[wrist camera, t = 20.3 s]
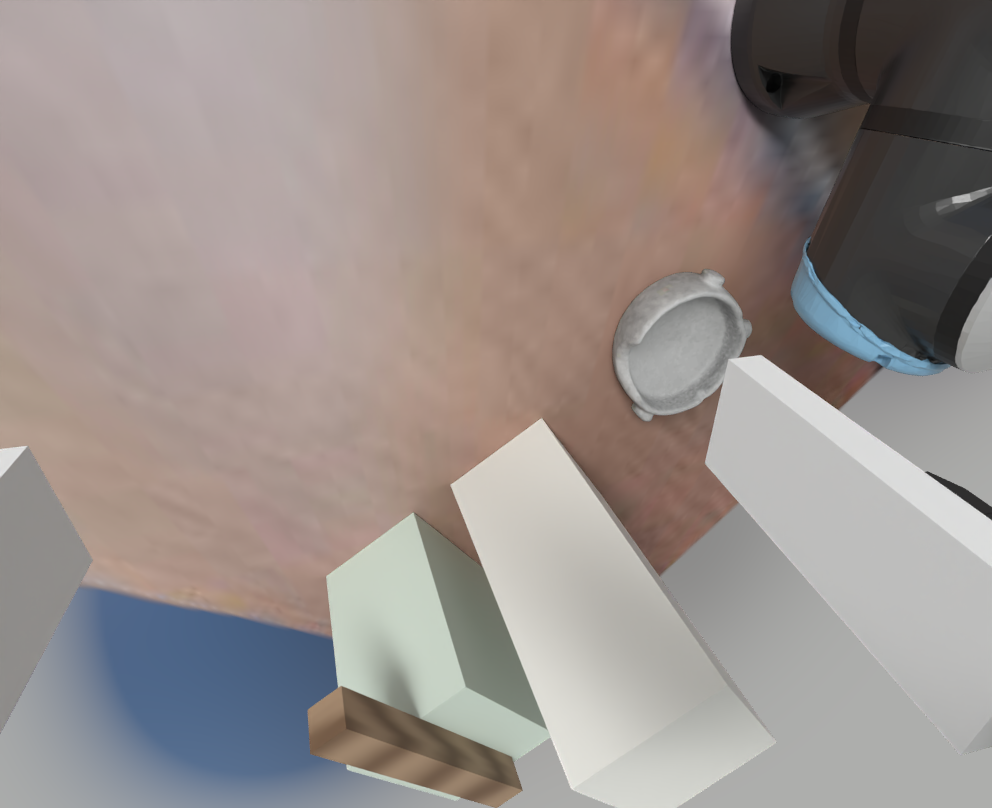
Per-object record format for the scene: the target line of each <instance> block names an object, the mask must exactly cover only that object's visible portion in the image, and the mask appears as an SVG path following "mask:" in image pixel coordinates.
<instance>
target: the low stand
mask: <svg viewBox="0 0 992 808" xmlns="http://www.w3.org/2000/svg"><path fill="white" fill-rule="evenodd" d="M326 579H327V588H328V597H329V606H330V616H331V625H332V634H333V643H334V653H335V662H336V671H337V681H338V688H339V687H340V686H343V687H346V688H348V689H351V690H353V691H355V692H358V693H360V694H363V695H365V696H367V697H370V698H372V699H375V700H377V701H379V702H382V703H384V704H387V705H389V706H391V707H394V708H396V709H399V710H401V711H403V712H406V713H408V714H411V715H413V716H415V717H418V718H420V719H423V720H425V721H427V722H430V723H432V724H435V725H437V726H439V727H442V728H444V729H447V730H449V731H451V732H454V733H456V734H459V735H461V736H463V737H466V738H468V739H471V740H473V741H475V742H478V743H480V744H483V745H485V746H487V747H490V748H492V749H495V750H497V751H499V752H502V753H504V754H507V755H509V756H511V757H512V760H513V762H514V761H516V760H517V759H519V758H520V757H522V756H523V755H524V754H526V753H527V752H529V751H530V750H532V749H533V748H535V747H536V746H538V745H539V744H541V743H542V742H544V741H545V740H547V739H548V738H549V737H550V734H549V732H548V729H547V727H546V724H545V722H544V719H543V717H542V714H541V712H540V709H539V706H538V704H537V701H536V699H535V696H534V694H533V691H532V689H531V686H530V684H529V681H528V679H527V676H526V674H525V671H524V669H523V666H522V664H521V661H520V659H519V656H518V654H517V651H516V649H515V646H514V644H513V641H512V639H511V636H510V634H509V631H508V629H507V626H506V624H505V621H504V618H503V616H502V613H501V611H500V608H499V606H498V603H497V601H496V598H495V596H494V593H493V591H492V588H491V586H490V583H489V581H488V578H487V576H486V573H485V571H484V568H483V567H481V566H480V565H479V564H478V563H476V562H475V561H474V560H473V559H471V558H470V557H469V556H468V555H466V554H465V553H464V552H463V551H461V550H460V549H459V548H458V547H456V546H455V545H454V544H453V543H451V542H450V541H449V540H448V539H446V538H445V537H444V536H443V535H441V534H440V533H439V532H438V531H436V530H435V529H434V528H433V527H431V526H430V525H429V524H428V523H426V522H425V521H424V520H423V519H421V518H420V517H419V516H418V515H416V514H415V513H414V512H413V513H412V514H410V515H409V516H408V517H406V518H405V519H403V520H402V521H401V522H399V523H398V524H397V525H395V526H394V527H393V528H391V529H390V530H389V531H387V532H386V533H384V534H383V535H382V536H380V537H379V538H378V539H376V540H375V541H374V542H372V543H371V544H369V545H368V546H367V547H365V548H364V549H363V550H361V551H360V552H359V553H357V554H356V555H354V556H353V557H352V558H350V559H349V560H348V561H346V562H345V563H344V564H342V565H341V566H339V567H338V568H337V569H335V570H334V571H333V572H331V573H330V574H329V575H327V576H326ZM347 770H350V771H353V772H357V773H360V774H364V775H367V776H371V777H374V778H378V779H382V780H385V781H389V782H392V783H396V784H399V785H403V786H407V787H410V788H413V789H417V790H420V791H424V792H427V793H431V794H434V795H438V796H442V797H445V798H449V799H452V800H456V801H457V800H458V799H460V797H457V796H454V795H450V794H447V793H443V792H440V791H436V790H433V789H429V788H426V787H422V786H419V785H416V784H412V783H409V782H405V781H402V780H398V779H395V778H391V777H388V776H384V775H381V774H378V773H374V772H371V771H367V770H364V769H360V768H357V767H353V766H350V765H347Z"/></svg>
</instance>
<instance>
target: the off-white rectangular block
mask: <svg viewBox="0 0 992 808" xmlns="http://www.w3.org/2000/svg"><path fill="white" fill-rule="evenodd" d="M451 488H452V490H453V493H454V495H455V498H456V500H457V503H458V505H459V508H460V510H461V513H462V515H463V518H464V520H465V523H466V525H467V528H468V530H469V533H470V536H471V538H472V541H473V543H474V546H475V548H476V551H477V553H478V556H479V558H480V561H481V563H482V566H483V568H484V571H485V573H486V576H487V578H488V581H489V583H490V586H491V588H492V591H493V593H494V596H495V598H496V601H497V603H498V606H499V608H500V611H501V613H502V616H503V618H504V621H505V624H506V626H507V629H508V631H509V634H510V636H511V639H512V641H513V644H514V646H515V649H516V651H517V654H518V656H519V659H520V661H521V664H522V666H523V669H524V671H525V674H526V676H527V679H528V681H529V684H530V686H531V689H532V691H533V694H534V696H535V699H536V701H537V704H538V706H539V709H540V712H541V714H542V717H543V719H544V722H545V724H546V727H547V729H548V732H549V734H550V737H551V739H552V742H553V744H554V747H555V749H556V752H557V754H558V757H559V759H560V762H561V764H562V767H563V769H564V772H565V774H566V777H567V779H568V782H569V784H570V787H571V789H572V790H574V791H576V792H579V793H581V794H584V795H586V796H589V797H591V798H594V799H596V800H599V801H601V802H604V803H606V804H609V805H611V806H614V807H616V808H677V807H678V806H680V805H681V804H683V803H685V802H686V801H688V800H689V799H691V798H692V797H694V796H695V795H697V794H698V793H700V792H701V791H703V790H704V789H706V788H708V787H709V786H711V785H712V784H714V783H715V782H717V781H718V780H720V779H721V778H723V777H724V776H726V775H727V774H729V773H730V772H732V771H734V770H735V769H737V768H738V767H740V766H741V765H743V764H744V763H746V762H747V761H749V760H750V759H752V758H753V757H755V756H757V755H758V754H760V753H761V752H763V751H764V750H766V749H767V748H769V747H770V746H772V745H773V744H775V743H777V742H776V740H775V739H774V738H773V736H772V735H771V733H770V732H769V730H768V729H767V728H766V726H765V725H764V723H763V722H762V721H761V719H760V718H759V716H758V715H757V714H756V712H755V711H754V709H753V708H752V707H751V705H750V704H749V702H748V701H747V699H746V698H745V697H744V695H743V694H742V692H741V691H740V690H739V688H738V687H737V685H736V684H735V683H734V681H733V680H732V678H731V677H730V675H729V674H728V673H727V671H726V670H725V668H724V667H723V666H722V664H721V663H720V661H719V660H718V659H717V657H716V656H715V654H714V653H713V651H712V650H711V649H710V647H709V646H708V644H707V643H706V642H705V640H704V639H703V637H702V636H701V635H700V633H699V632H698V630H697V629H696V628H695V626H694V625H693V623H692V622H691V621H690V619H689V618H688V617H687V615H686V613H685V612H684V611H683V609H682V608H681V607H680V605H679V604H678V602H677V601H676V600H675V598H674V597H673V595H672V594H671V592H670V591H669V589H668V588H667V587H666V585H665V584H664V582H663V581H662V580H661V578H660V577H659V575H658V574H657V573H656V571H655V570H654V568H653V567H652V565H651V564H650V563H649V561H648V560H647V558H646V557H645V556H644V554H643V553H642V551H641V550H640V549H639V547H638V546H637V544H636V543H635V542H634V540H633V539H632V537H631V536H630V534H629V533H628V532H627V530H626V529H625V527H624V526H623V525H622V523H621V522H620V520H619V519H618V518H617V516H616V515H615V513H614V512H613V511H612V509H611V508H610V506H609V505H608V503H607V502H606V501H605V499H604V498H603V496H602V495H601V494H600V492H599V491H598V490H597V489H596V487H595V486H594V485H593V483H592V482H591V481H590V480H589V478H588V477H587V476H586V474H585V473H584V472H583V471H582V469H581V468H580V467H579V465H578V464H577V463H576V462H575V460H574V459H573V458H572V456H571V455H570V454H569V453H568V451H567V450H566V449H565V447H564V446H563V445H562V444H561V442H560V441H559V440H558V438H557V437H556V436H555V435H554V433H553V432H552V431H551V429H550V428H549V427H548V426H547V424H546V423H545V422H544V420H543V419H542V418H541V419H539V420H538V421H537V422H535V423H534V424H533V425H531V426H530V427H529V428H527V429H526V430H524V431H523V432H522V433H520V434H519V435H518V436H516V437H515V438H514V439H512V440H511V441H510V442H508V443H507V444H505V445H504V446H503V447H501V448H500V449H499V450H497V451H496V452H495V453H493V454H492V455H490V456H489V457H488V458H486V459H485V460H484V461H482V462H481V463H480V464H478V465H477V466H475V467H474V468H473V469H471V470H470V471H469V472H467V473H466V474H465V475H463V476H462V477H461V478H459V479H458V480H456V481H455V482H454V483H452V484H451Z"/></svg>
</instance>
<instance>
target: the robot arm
mask: <svg viewBox="0 0 992 808" xmlns="http://www.w3.org/2000/svg"><path fill="white" fill-rule="evenodd" d="M732 57H733V64H734V69H735V73H736V76H737V79H738V82H739V84H740V86H741V88H742V90H743V92H744V94H745V95H746V96H747V98H748V99H749V100H750V101H751V102H752V103H753V104H754V105H755V106H756V107H758V108H759V109H760V110H762V111H764V112H766V113H769V114H773V115H778V116H783V117H789V118H798V119H801V118H812V117H817V116H821V115H825V114H828V113H832V112H836V111H840V110H844V109H848V108H852V107H856V106H860V105H863V104H867V103H871V104H870V107H869V109H868V111H867V114H866V116H865V118H864V120H863V123H862V125H861V127H860V128H859V131H858V133H857V135H856V137H855V140H854V142H853V144H852V146H851V149H850V151H849V153H848V155H847V157H846V160H845V162H844V164H843V166H842V169H841V171H840V173H839V175H838V178H837V180H836V182H835V184H834V187H833V189H832V191H831V193H830V196H829V198H828V200H827V202H826V205H825V207H824V209H823V211H822V214H821V216H820V218H819V220H818V223H817V225H816V227H815V229H814V232H813V234H812V236H811V237H809V238H808V239H807V240H806V242H805V244H804V247H803V257H802V260H801V262H800V265H799V267H798V270H797V272H796V275H795V278H794V280H793V283H792V287H791V296H792V299H793V305H794V308H795V310H796V311H797V313H798V314H799V316H800V317H801V318H802V319H803V321H804V322H805V323H806V324H807V325H808V326H809V327H810V328H812V329H813V330H814V331H815V332H816V333H818V334H819V335H820V336H822V337H823V338H825V339H826V340H828V341H829V342H831V343H832V344H834V345H835V346H837V347H839V348H840V349H842V350H844V351H846V352H848V353H850V354H852V355H854V356H856V357H858V358H860V359H862V360H865V361H868V362H871V361H876V362H877V363H879V364H880V365H882V366H883V367H885V368H886V369H889V370H893V371H896V372H899V373H903V374H908V375H917V376H927V375H933V374H937V373H940V372H942V371H943V370H944V369H946V368H948V367H950V366H953V367H956V368H958V369H960V370H962V371H965V372H968V373H978V372H983V371H987V370H992V0H737V1H736V5H735V10H734V17H733V24H732ZM866 129H867V130H866ZM872 130H873V131H872ZM877 131H880V132H877ZM883 132H885V133H883ZM889 133H891V134H889ZM894 134H897V135H894ZM900 135H903V136H900ZM906 136H908V137H906ZM911 137H913V138H911ZM917 138H919V139H917ZM923 139H925V140H923ZM928 140H930V141H928ZM934 141H936V142H934ZM939 142H941V143H939ZM945 143H946V144H945ZM951 144H952V145H951ZM956 145H958V146H956ZM962 146H963V147H962ZM967 147H968V148H967ZM973 148H974V149H973ZM978 149H980V150H978ZM984 150H985V151H984ZM705 464H706V465H707V466H708V468H709V469H710V470H711V471H712V472H713V473H714V474H715V476H716V477H717V478H718V479H719V480H720V481H721V482H722V484H723V485H724V486H725V487H726V488H727V489H728V490H729V492H730V493H731V494H732V495H733V496H734V497H735V498H736V500H737V501H738V502H739V503H740V504H741V505H742V506H743V508H744V509H745V510H746V511H747V512H748V513H749V514H750V516H751V517H752V518H753V519H754V520H755V521H756V522H757V524H758V525H759V526H760V527H761V528H762V529H763V530H764V532H765V533H766V534H767V535H768V536H769V537H770V538H771V540H772V541H773V542H774V543H775V544H776V545H777V546H778V548H779V549H780V550H781V551H782V552H783V553H784V554H785V556H786V557H787V558H788V559H789V560H790V561H791V562H792V564H793V565H794V566H795V567H796V568H797V569H798V570H799V572H801V574H802V575H803V576H804V577H805V578H806V580H807V581H808V582H809V583H810V584H811V585H812V586H813V588H814V589H815V590H816V591H817V592H818V593H819V594H820V596H821V597H822V598H823V599H824V600H825V601H826V602H827V604H828V605H829V606H830V607H831V608H832V609H833V610H834V612H835V613H836V614H837V615H838V616H839V617H840V618H841V620H842V621H843V622H844V623H845V624H846V625H847V626H848V628H849V629H850V630H851V631H852V632H853V633H854V634H855V636H856V637H857V638H858V639H859V640H860V641H861V642H862V643H863V645H864V646H865V647H866V648H867V649H868V650H869V652H870V653H871V654H872V655H873V656H874V657H875V658H876V659H877V661H878V662H879V663H880V664H881V665H882V666H883V667H884V669H886V671H887V672H888V673H889V674H890V675H891V677H892V678H893V679H894V680H895V681H896V682H897V683H898V685H899V686H900V687H901V688H902V689H903V690H904V691H905V693H906V694H907V695H908V696H909V697H910V698H911V699H912V700H913V702H914V703H915V704H916V705H917V706H918V707H919V708H920V709H921V711H922V712H923V713H924V714H925V715H926V717H927V718H928V719H929V720H930V721H931V722H932V723H933V725H934V726H935V727H936V728H937V729H938V730H939V731H940V733H941V734H942V735H943V736H944V737H945V738H946V739H947V741H948V742H949V743H950V744H951V745H952V746H953V747H954V749H955V750H956V751H957V752H958V753H959V754H960V755H964V754H967V753H971V752H974V751H978V750H981V749H985V748H989V747H992V507H991V506H989V505H988V504H986V503H985V502H984V501H982V500H981V499H979V498H978V497H976V496H975V495H974V494H972V493H971V492H969V491H968V490H966V489H965V488H963V487H960V486H958V485H956V484H954V483H952V482H950V481H947V480H945V479H943V478H941V477H939V476H937V475H934V474H932V473H930V472H924V471H922V470H921V469H919V468H918V467H917V466H915V465H914V464H912V463H911V462H910V461H908V460H907V459H905V458H904V457H902V456H901V455H900V454H898V453H897V452H896V451H894V450H893V449H891V448H890V447H888V446H887V445H886V444H885V443H883V442H882V441H880V440H879V439H878V438H876V437H875V436H873V435H872V434H870V433H869V432H868V431H866V430H865V429H864V428H862V427H861V426H859V425H858V424H857V423H855V422H854V421H852V420H851V419H850V418H848V417H847V416H845V415H844V414H843V413H841V412H840V411H838V410H837V409H836V408H834V407H833V406H831V405H830V404H829V403H827V402H826V401H824V400H823V399H822V398H820V397H819V396H818V395H816V394H815V393H813V392H812V391H811V390H809V389H808V388H806V387H805V386H804V385H802V384H801V383H799V382H798V381H797V380H795V379H794V378H792V377H791V376H790V375H788V374H787V373H785V372H784V371H783V370H781V369H780V368H778V367H777V366H776V365H774V364H773V363H771V362H770V361H769V360H767V359H766V358H764V357H763V356H762V355H758V356H750V357H742V358H734V359H728V363H727V368H726V372H725V377H724V381H723V385H722V390H721V394H720V399H719V403H718V408H717V412H716V416H715V421H714V425H713V430H712V434H711V439H710V443H709V447H708V452H707V456H706V461H705ZM92 561H93V559H92V558H91V556H90V554H89V552H88V551H87V549H86V547H85V545H84V544H83V542H82V540H81V538H80V537H79V535H78V533H77V531H76V530H75V528H74V526H73V524H72V523H71V521H70V519H69V517H68V515H67V514H66V512H65V510H64V508H63V507H62V505H61V503H60V501H59V500H58V498H57V496H56V494H55V493H54V491H53V489H52V487H51V486H50V484H49V482H48V480H47V479H46V477H45V475H44V473H43V471H42V470H41V468H40V466H39V464H38V463H37V461H36V459H35V457H34V456H33V454H32V452H31V450H30V449H29V447H28V446H22V447H14V448H6V449H0V734H1V732H2V730H3V728H4V726H5V724H6V722H7V721H8V719H9V717H10V715H11V713H12V711H13V709H14V707H15V706H16V703H17V702H18V700H19V698H20V696H21V694H22V692H23V691H24V689H25V687H26V685H27V683H28V681H29V679H30V677H31V675H32V674H33V672H34V670H35V668H36V666H37V664H38V662H39V660H40V659H41V657H42V655H43V653H44V651H45V649H46V647H47V645H48V643H49V642H50V640H51V638H52V636H53V634H54V632H55V630H56V628H57V627H58V625H59V623H60V621H61V619H62V617H63V615H64V613H65V611H66V609H67V608H68V606H69V604H70V602H71V600H72V598H73V596H74V595H75V593H76V591H77V589H78V587H79V585H80V583H81V581H82V579H83V578H84V576H85V574H86V572H87V570H88V568H89V566H90V564H91V563H92Z"/></svg>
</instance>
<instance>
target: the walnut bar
mask: <svg viewBox="0 0 992 808" xmlns="http://www.w3.org/2000/svg"><path fill="white" fill-rule="evenodd" d="M308 722H309V738H310V739H309V740H310V754H312V755H315V756H319V757H322V758H326V759H329V760H333V761H336V762H340V763H343V764H346V765H350V766H353V767H357V768H360V769H364V770H367V771H371V772H374V773H378V774H381V775H384V776H388V777H391V778H395V779H398V780H402V781H405V782H409V783H412V784H416V785H419V786H422V787H426V788H429V789H433V790H436V791H440V792H443V793H447V794H450V795H454V796H457V797H460V798H464V799H468V800H471V801H474V802H478V803H481V804H485V805H488V806H492V807H495V808H497V807H499V806H500V805H502V804H503V803H504V802H506V801H508V800H509V799H511V798H512V797H514V796H515V795H516V794H518V793H520V792H521V791H522V787H521V784H520V781H519V778H518V775H517V772H516V769H515V766H514V763H513V760H512V757H511V756H509V755H507V754H504V753H502V752H499V751H497V750H495V749H492V748H490V747H487V746H485V745H483V744H480V743H478V742H475V741H473V740H471V739H468V738H466V737H463V736H461V735H459V734H456V733H454V732H451V731H449V730H447V729H444V728H442V727H439V726H437V725H435V724H432V723H430V722H427V721H425V720H423V719H420V718H418V717H415V716H413V715H411V714H408V713H406V712H403V711H401V710H399V709H396V708H394V707H391V706H389V705H387V704H384V703H382V702H379V701H377V700H375V699H372V698H370V697H367V696H365V695H363V694H360V693H358V692H355V691H353V690H351V689H348V688H346V687H343V686H340V687H339V688H337V689H336V690H335V691H333V692H332V693H331V694H329V695H327V696H326V697H325V698H323V699H322V700H320V701H319V702H318V703H316V704H315V705H313V706H312V707H311V708H309V709H308Z"/></svg>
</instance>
